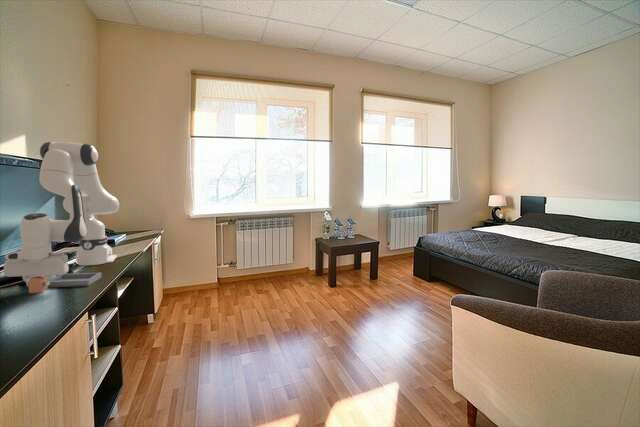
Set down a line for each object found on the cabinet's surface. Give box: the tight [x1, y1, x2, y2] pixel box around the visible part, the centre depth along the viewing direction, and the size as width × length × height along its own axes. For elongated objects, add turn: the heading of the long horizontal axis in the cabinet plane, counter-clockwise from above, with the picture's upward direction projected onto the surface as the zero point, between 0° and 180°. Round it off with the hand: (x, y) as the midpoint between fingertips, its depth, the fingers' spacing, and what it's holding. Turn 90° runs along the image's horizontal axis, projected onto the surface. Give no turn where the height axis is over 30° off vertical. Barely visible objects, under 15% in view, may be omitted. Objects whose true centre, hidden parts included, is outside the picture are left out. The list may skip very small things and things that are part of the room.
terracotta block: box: [28, 276, 48, 294], centre depth 118 cm, size 4×4×6 cm
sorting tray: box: [47, 272, 102, 289], centre depth 130 cm, size 12×16×2 cm
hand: (38, 285), depth 118 cm, fingers closed on terracotta block, 4 cm apart
